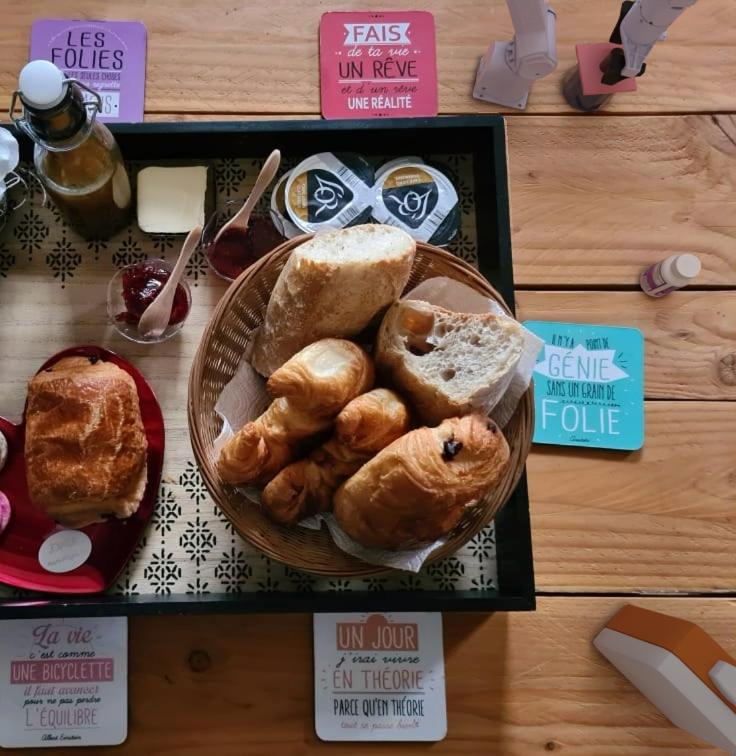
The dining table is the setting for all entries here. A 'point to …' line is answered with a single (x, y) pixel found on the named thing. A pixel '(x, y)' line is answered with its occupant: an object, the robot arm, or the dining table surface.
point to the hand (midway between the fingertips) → (610, 62)
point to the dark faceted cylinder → (575, 93)
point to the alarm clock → (676, 671)
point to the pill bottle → (670, 274)
